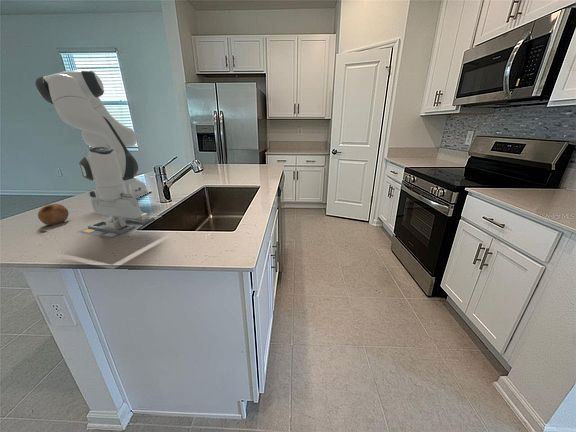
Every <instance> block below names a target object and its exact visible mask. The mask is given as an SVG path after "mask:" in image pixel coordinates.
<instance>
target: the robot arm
mask: <svg viewBox="0 0 576 432" xmlns="http://www.w3.org/2000/svg"><path fill="white" fill-rule="evenodd" d="M34 84H35V87H36V90H37V92H38V94H39V95H40V96H41V97H42V98H43V99H44V100H45V101H46V102H47V103H49V104H51V105H53V106H54V109H55V111H56V114H57V115H58V116H59V117H60V119H61V121H62V122H63V123H65V124H67V125H68V126H70V127H72V128H75V129H78V130H81V139H82V141H83V142H84V143H85V144H86V146H88V147H90V149H88V155H87V156H83V158H82V159H81V160H80V161H79V167H80V169H81V173H82V177H83V178H85V179H87V180H88V181H91V182H95V189H92V190H89V191H88V192H87V194H88V197H90V203H91V205H92V209H93V211H94V212H95V213H96V214H97V215H104V216H110V217H112V218H111V219H113V220H114V221H115V222H116V226H120V227H124V226H126V223H125V221H126V218H129V219H136V218H138V217H140V216H141V215H142V213H141V212H142V209H141V207H140V204H139V202H138V200H137V199H139V198H141V197H143V195H144V196H145V194H146V195H148V194H150V193H149V192H151V191H152V189H150V188H147V185H146V183H145V182H144V181H143V180H142V181H141V180H140V179H138V178H136V177H135V176H137V175H138V172H139V164H138V161H137V160H136V158H135V157H134V156H133V154H132V153H131V152H130V151H129V149H128V148H130V147H134V146H135V145H136V144H137V142H138V137H137V134H136V132H135V131H134V130H133V128H131V127H128V126H126V125H124V124H123V123H121V122H119V121H118V120H117V119H115V118H114V117H113V116H112V115H111V114H110V112H109V111H108V109H107V108H106V107H105V105H104V103H103V102H102V100H101V98H100V97H101V96H103V95H104V93H105V90H104V83H103V81H102V80H101V78H100V77H99V76H98V74H96V72H94V71H92V70H91V69H82V68H81V69H79V70H78V69H77V70H65V71H64V70H63V71H61V72H57V73H52V74H49V75H42V76H39V77H37V78H36V80H35V83H34ZM147 193H148V194H147ZM151 193H152V192H151ZM140 196H141V197H140Z"/></svg>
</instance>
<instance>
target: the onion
mask: <svg viewBox="0 0 576 432" xmlns="http://www.w3.org/2000/svg"><path fill="white" fill-rule="evenodd" d="M68 217H69V211H68V209H67V207H66V206H64V205H62V204H60V203H49V204H47V205H44V206H42V207H41V208H40V209H39V211H38V212H37V218H38V219H39V220H40V221H41V223H43V224H44V225H48V226H55V225H59V224H62V223H64V222H66V221H67V219H68Z"/></svg>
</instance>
